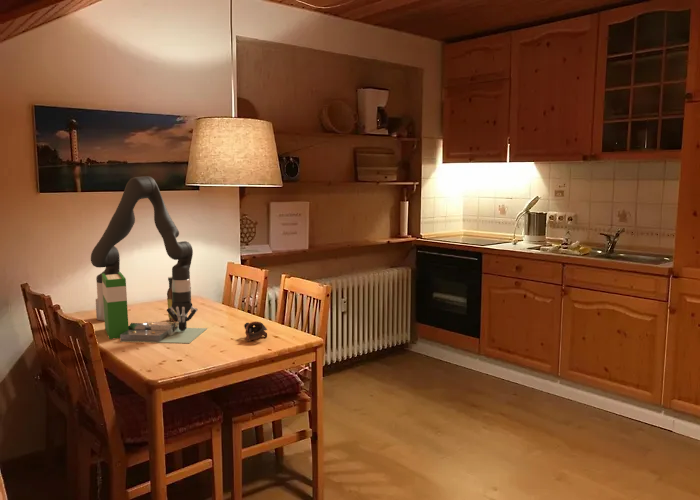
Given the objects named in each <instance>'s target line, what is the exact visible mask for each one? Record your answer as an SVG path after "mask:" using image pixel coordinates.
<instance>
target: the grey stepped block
mask: <svg viewBox="0 0 700 500" xmlns="http://www.w3.org/2000/svg"><path fill="white" fill-rule="evenodd" d="M128 328H129V330H127V331H125V332H124V333H122V334H120V338H119V339H120V340H119V341H152V342H160V341H162V340H163V339H164V338H166V337H167V331H166V330H151V327H149V325H148V323H144V322H131V323H130V324H129V325H128Z"/></svg>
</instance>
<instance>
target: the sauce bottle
mask: <svg viewBox="0 0 700 500" xmlns="http://www.w3.org/2000/svg"><path fill="white" fill-rule="evenodd" d="M167 282H168V289H167V291H166V292H167V293H166V295H167V296H166V297H167V298H166V299H167V301H166V302H167V309H168V308H170V307H171V306H172V303H173V301H172V276H168V277H167ZM174 312H175V310H174ZM167 313H168V312H167ZM175 313H176V312H175ZM176 315H177V313H176ZM168 320H169V322H176V321H175V320H174V319H173V318H172V317H171V316H170V314H169V313H168Z"/></svg>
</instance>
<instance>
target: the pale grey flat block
mask: <svg viewBox="0 0 700 500" xmlns="http://www.w3.org/2000/svg"><path fill="white" fill-rule="evenodd" d="M143 323H148V325H149V327H151V330H166V331H167V336H172V335H174V334H175V333H176V332H178V331H179V322H178V321H144V322H143Z"/></svg>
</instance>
